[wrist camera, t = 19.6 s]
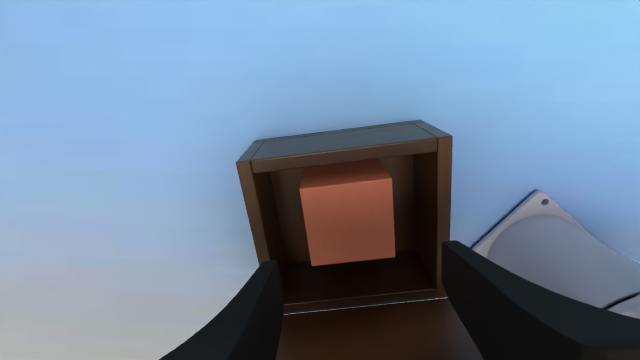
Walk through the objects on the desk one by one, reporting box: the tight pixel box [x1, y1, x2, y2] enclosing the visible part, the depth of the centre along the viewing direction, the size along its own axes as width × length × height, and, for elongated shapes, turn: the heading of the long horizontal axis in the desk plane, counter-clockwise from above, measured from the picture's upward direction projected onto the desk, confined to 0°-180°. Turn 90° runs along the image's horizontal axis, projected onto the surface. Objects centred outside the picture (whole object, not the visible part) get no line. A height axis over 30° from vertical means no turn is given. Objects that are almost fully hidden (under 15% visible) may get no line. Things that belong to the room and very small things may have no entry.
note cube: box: [300, 159, 395, 266], centre depth 19 cm, size 5×5×5 cm
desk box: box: [236, 120, 452, 314], centre depth 20 cm, size 11×12×5 cm
